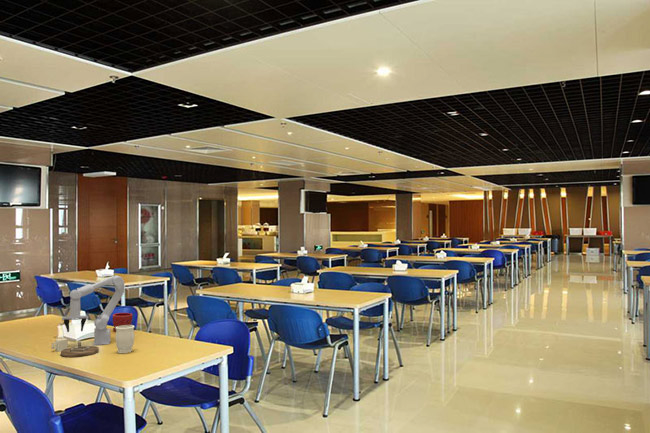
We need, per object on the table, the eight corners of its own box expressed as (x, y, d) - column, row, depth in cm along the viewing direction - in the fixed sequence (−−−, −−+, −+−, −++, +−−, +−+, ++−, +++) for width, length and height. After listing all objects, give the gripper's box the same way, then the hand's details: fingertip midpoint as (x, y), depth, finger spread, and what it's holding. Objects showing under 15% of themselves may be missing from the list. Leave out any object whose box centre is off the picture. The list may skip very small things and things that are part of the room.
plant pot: (114, 333, 339) (114, 316, 339) (111, 330, 350) (111, 313, 350) (134, 331, 346) (134, 314, 346) (130, 328, 357) (130, 311, 357)
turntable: (72, 348, 296) (72, 340, 296) (104, 348, 296) (104, 340, 296) (53, 356, 276) (53, 349, 276) (88, 357, 276) (88, 349, 276)
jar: (138, 350, 292) (138, 325, 292) (125, 354, 282) (126, 328, 282) (123, 349, 295) (124, 324, 296) (111, 353, 286) (111, 327, 286)
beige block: (64, 348, 296) (64, 338, 297) (67, 350, 293) (67, 339, 293) (50, 351, 290) (50, 340, 291) (53, 352, 287) (53, 341, 287)
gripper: (89, 307, 308) (89, 329, 308) (63, 308, 304) (63, 330, 304) (87, 309, 301) (87, 331, 301) (61, 310, 297) (60, 333, 297)
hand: (75, 331), depth 302 cm, fingers open, 7 cm apart
